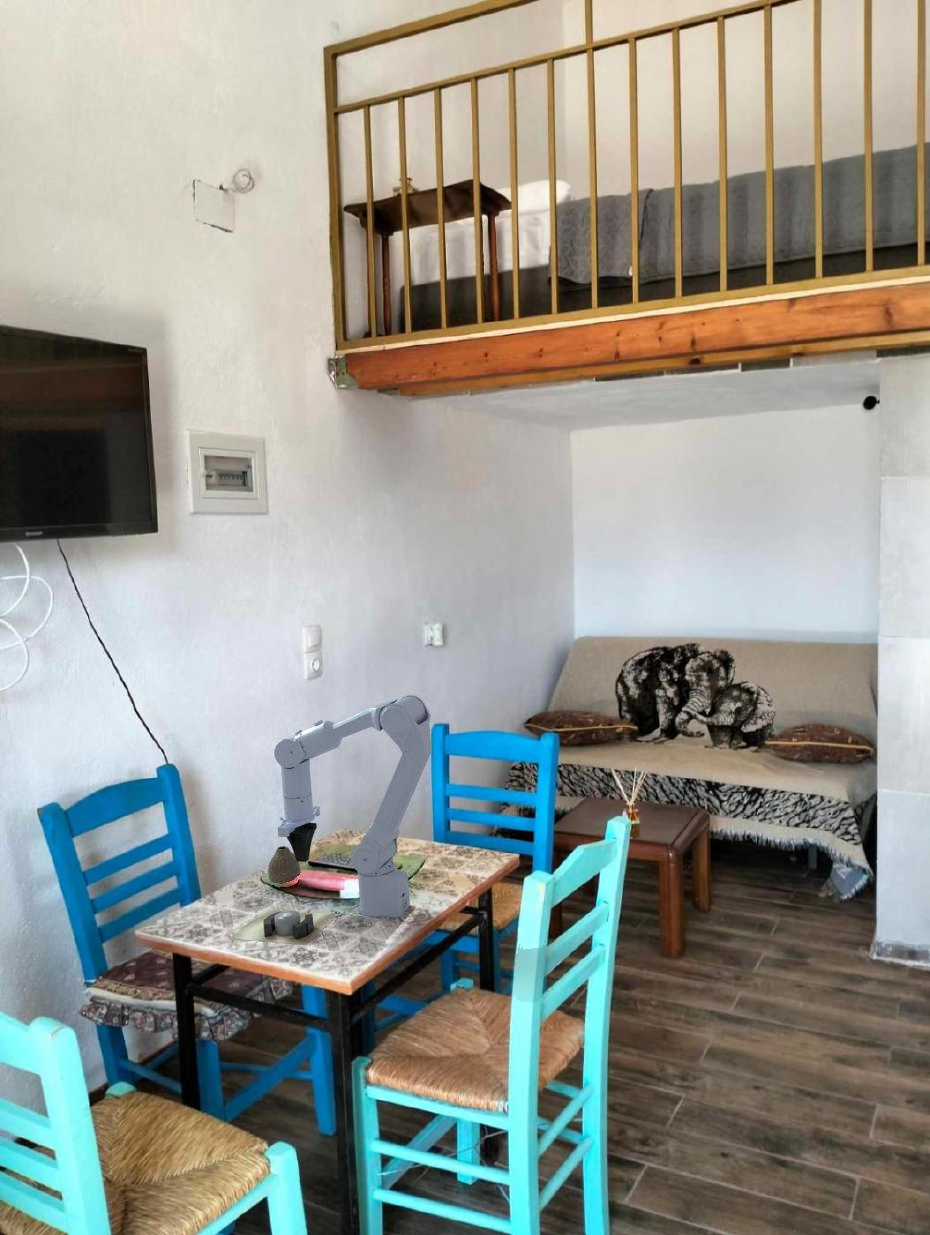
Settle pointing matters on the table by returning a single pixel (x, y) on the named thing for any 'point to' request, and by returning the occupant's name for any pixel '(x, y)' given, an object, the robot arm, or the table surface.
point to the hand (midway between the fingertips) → (302, 860)
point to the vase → (283, 866)
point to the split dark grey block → (298, 929)
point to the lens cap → (286, 922)
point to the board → (256, 932)
